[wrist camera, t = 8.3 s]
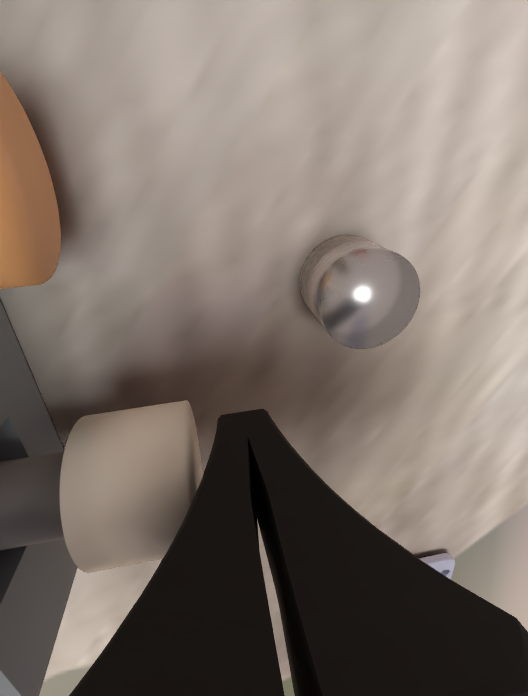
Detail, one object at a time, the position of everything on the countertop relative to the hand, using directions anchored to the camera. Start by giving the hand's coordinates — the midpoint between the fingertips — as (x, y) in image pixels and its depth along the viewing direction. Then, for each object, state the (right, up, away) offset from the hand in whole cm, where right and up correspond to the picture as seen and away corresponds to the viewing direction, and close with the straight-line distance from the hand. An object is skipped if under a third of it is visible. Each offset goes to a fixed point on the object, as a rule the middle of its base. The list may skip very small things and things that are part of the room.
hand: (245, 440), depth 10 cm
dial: (+3, +5, +1) cm, 6 cm away
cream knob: (-6, 0, 0) cm, 6 cm away
